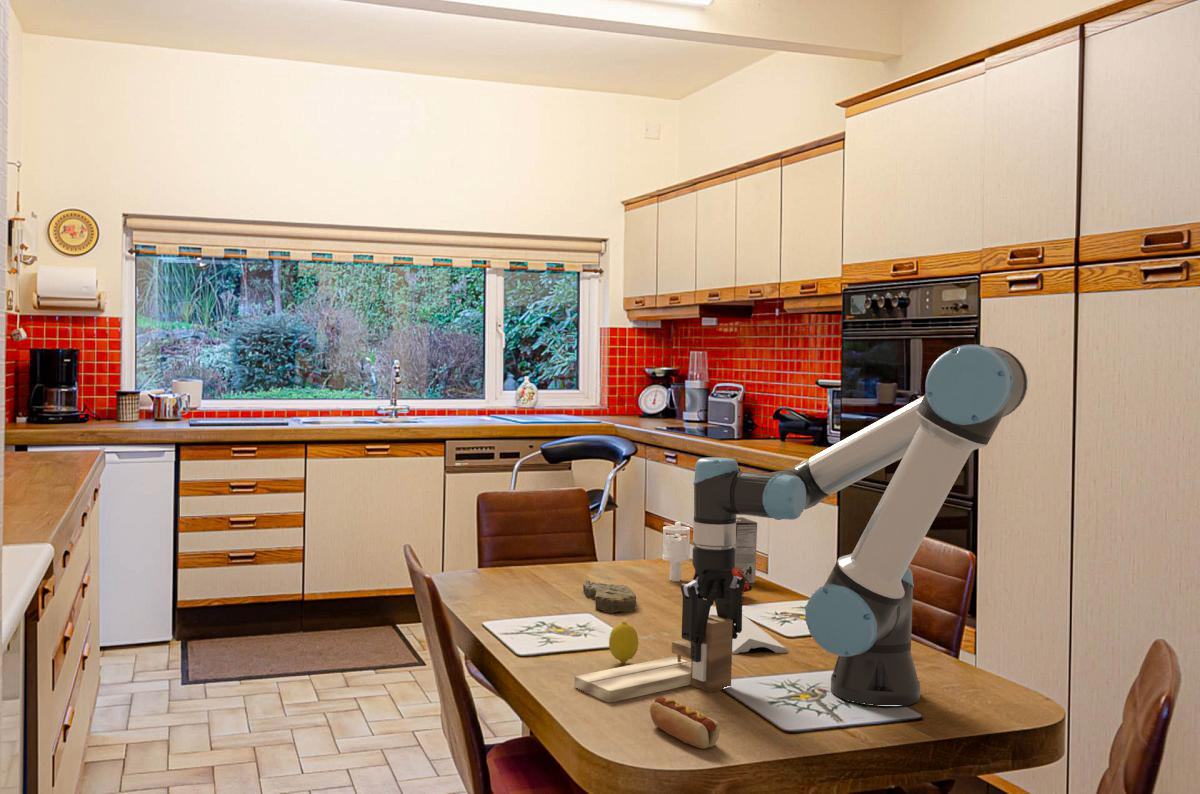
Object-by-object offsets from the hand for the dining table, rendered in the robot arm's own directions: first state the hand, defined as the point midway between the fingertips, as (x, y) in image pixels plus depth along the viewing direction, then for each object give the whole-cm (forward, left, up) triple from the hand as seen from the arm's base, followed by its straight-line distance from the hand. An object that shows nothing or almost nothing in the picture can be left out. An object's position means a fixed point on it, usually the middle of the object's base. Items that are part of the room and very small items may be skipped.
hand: (711, 676), depth 187 cm
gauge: (+3, 0, -2) cm, 4 cm away
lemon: (+20, +4, -2) cm, 20 cm away
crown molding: (+23, -30, -3) cm, 38 cm away
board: (+8, +9, -2) cm, 12 cm away
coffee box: (+64, -71, -2) cm, 96 cm away
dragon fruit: (+50, -54, -2) cm, 73 cm away
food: (-16, +21, -2) cm, 27 cm away
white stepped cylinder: (+73, -56, -2) cm, 92 cm away
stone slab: (+63, -27, -2) cm, 69 cm away
